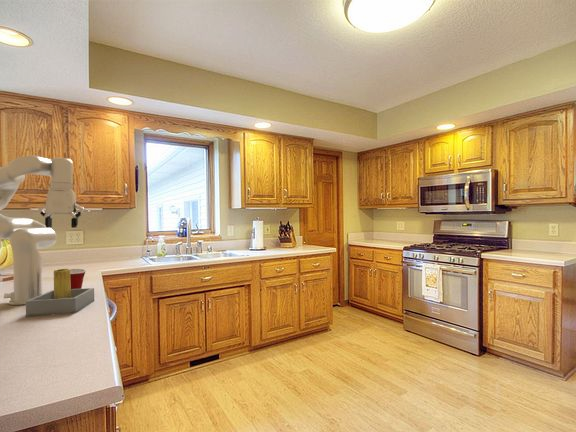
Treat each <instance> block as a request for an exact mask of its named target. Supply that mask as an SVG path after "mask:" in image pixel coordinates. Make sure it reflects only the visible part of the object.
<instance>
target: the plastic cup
mask: <svg viewBox="0 0 576 432" xmlns="http://www.w3.org/2000/svg"><path fill="white" fill-rule="evenodd" d="M69 269H70V283H71V289H83V288H82V287H83V283H84V277H85V275H86V272H87V269H84V268H69Z"/></svg>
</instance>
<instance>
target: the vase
mask: <svg viewBox="0 0 576 432" xmlns="http://www.w3.org/2000/svg"><path fill="white" fill-rule="evenodd" d="M70 269H71V268H61V269H60V268H58V269H54V270H53V290H54V297H53V299H62V298H71V283H70Z"/></svg>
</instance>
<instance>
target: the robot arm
mask: <svg viewBox="0 0 576 432" xmlns="http://www.w3.org/2000/svg"><path fill="white" fill-rule="evenodd" d="M73 166H74V164H73V161H72V160H71V159H70V158H66V157H65V158H64V157H54V158H46V157H43V156H37V155H25V156H19V157H15V158H13V159H11V161H9V163H7V164H6V165H4V166H0V211H2V210H4V209H5V208H6V207H8V205H9V203H10V201H11V200H12V199H13V197H14V195H15V194H16V192H17V191H18V189H19V187H20V184H22V183H24V182H25V180H26V175H40V176H45V177H50V184H47V188H49V189H48V190H47V191H48V192H47V194H46V198H45V200H46V201H45V204H43V205H41V206H39V207H37V208H38V211H39V213H40V215H41V216H42V217H43V218H44V223H41V222H39V221H37V220H35V219H32V218H29V217H9V216H7V215H4V214H2V213H0V239H3V240H9V244H10V247H11V251H12V262H13V263H12V264H13V265H12V266H13V268H12V269H13V291H12V292H6V293H3V299H10V300H9V301H8V304H9V305H11V306H21V305H26V301H28V300H30V299H33V298H35V297H37V296H40V295H42V294H43V259H42V255H41V253H40V252H39V250H40V249H47V248H48V249H49V248H51V247H52V246H54V245H55V244H56V243H57V241H58V236H57V233H56V231H55V230H54V229H52V227H53V218H52V216H53V215H54V214H55V215H56V214H58V215H59V214H63V215H70V216H71V217H72V218H71V228H74V229H75V228H77V227H78V224H79V223H78V221H79V220H78V219H79V218H80V217H81V216H82V215H83V213H84V211H85V207H83V206H81V205H79V204H77V200H76V199H77V198H76V193H75V191H74V190H73V188H74V187H73V183H74V181H73V177H74V175H73V173H74V172H73V171H74V167H73ZM77 210H78V211H77Z"/></svg>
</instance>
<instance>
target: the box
mask: <svg viewBox="0 0 576 432" xmlns="http://www.w3.org/2000/svg"><path fill="white" fill-rule="evenodd" d="M53 297H54V289H52V290H50V291H47V292H45V293H42V295H40V296H37V297H35V298H33V299H30V300H28V301H26V304H25V317H40V316H42V317H43V316H52V314H55V315H66V314H76V313H78V312H79V311H81V310H83V309H84V308H86V307H88V306H89V305H90V304H91V303H93V302H95V287H89V288H88V287H87V288H81V289H71V298H62V299H53Z"/></svg>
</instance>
